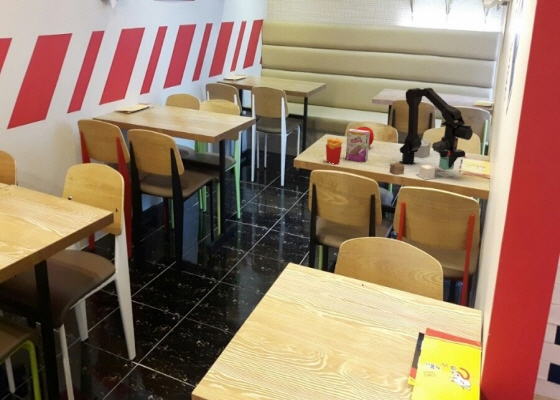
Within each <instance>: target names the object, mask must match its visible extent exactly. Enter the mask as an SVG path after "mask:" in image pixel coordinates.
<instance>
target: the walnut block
mask: <svg viewBox="0 0 560 400" xmlns="http://www.w3.org/2000/svg"><path fill="white" fill-rule="evenodd" d="M389 173H391V174H393V175H395V176H396V175H404V173H405V165H404V164H402V163H400V162H394V163H390V165H389Z"/></svg>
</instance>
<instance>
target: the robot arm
mask: <svg viewBox="0 0 560 400" xmlns="http://www.w3.org/2000/svg"><path fill="white" fill-rule="evenodd" d="M423 97H424V98H426V99H427V100H428V101H429V102H430V103H431V104H432V105H433V106H434V107H435V108H437V110H438V111H439V112H440V113H441V117H443V120H444V122H442V123H441V126H444V134H443V136H444V137H443V136H442V137H441V140H438V141H436V142H435V141H434V142H433V143H432V144H431V145H432V146H431V148H432V149H433V151H434V152H436V153H438V154H439V157H440V158H441V157H447V156H448V157H449V168H451V167H452V165H453V164H454V165H455V162H456V161H457V159H458V158H465V157H466V152H465V150H463V149H460V148H458V145H457V146H455V143H456V141H457V140H458V141H459V139H461V140H466V141H469V140H471V139H472V138H473V135H474V132H473V129H472V125H470V124H469V125H467V124H466V123H465V121H464V118H463V116H462V111H461V110H459V109H458V108H456V107H455V106H453V105H450V104H448V103H447V102H446V101H445V99H443V98H442V97H441V96H440V95H439V94H438V93H437V92H435V89H433V87H424V88H423V89H421V88H419V87H415V88H408V89H407V91H405V101H406V103H407V106H408V117H407V118H408V121H407V122H408V124H407V135H406V137H405V139H404V144H403V145H402V146H401V147H400V148H399V152H400V154H402V157H401V160H400V161H399V162H398V163H400V164H402V165H404V166H405V165H415V164H416V162H415V157H414V154H415V153H414V152H417V151H418V149H419V148H420V147H421V145H422V143H421V140H422V139H423V138H422V136H420V135H419V132H418V131H419V112H420V111H419V110H420V108H419V106H420V105H421V102H422V99H423ZM456 137H457V138H456ZM454 149H457V150H454ZM448 152H450V155H448ZM440 158H439V159H440Z"/></svg>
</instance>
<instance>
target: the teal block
mask: <svg viewBox="0 0 560 400" xmlns="http://www.w3.org/2000/svg"><path fill="white" fill-rule="evenodd" d="M438 163H439V164H438V168H440V169H442V170H443V171H450V170H454V167H455V163H454V164H453V165H452V167H451V168H449V157H441V158H439V161H438Z"/></svg>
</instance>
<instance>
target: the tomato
mask: <svg viewBox="0 0 560 400" xmlns="http://www.w3.org/2000/svg"><path fill="white" fill-rule="evenodd" d="M356 130H364V131H370V136H369V147H370V146H371V145H372V144H373V143H374V139H375V134H374V131H373V129H372V128H371V127H368V126H367V127H366V126H360V127H358V128H357V129H356Z"/></svg>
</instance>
